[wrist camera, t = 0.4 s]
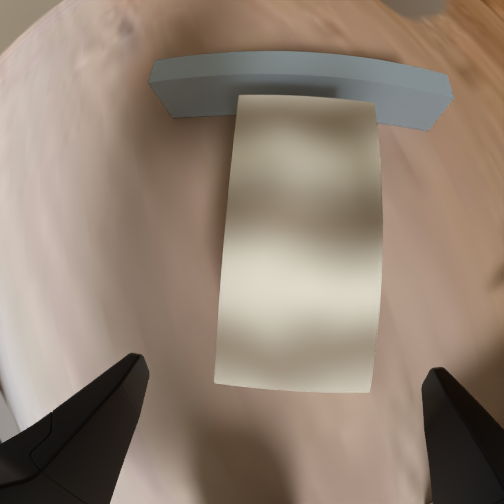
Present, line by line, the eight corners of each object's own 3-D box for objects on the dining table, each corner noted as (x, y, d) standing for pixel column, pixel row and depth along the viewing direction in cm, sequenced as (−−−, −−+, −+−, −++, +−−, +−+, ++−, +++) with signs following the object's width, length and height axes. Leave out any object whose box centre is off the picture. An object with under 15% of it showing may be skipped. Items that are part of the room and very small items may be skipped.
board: (427, 131, 24) (453, 98, 18) (172, 118, 27) (148, 82, 21) (423, 109, 24) (446, 74, 18) (176, 97, 27) (155, 60, 21)
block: (341, 356, 23) (369, 392, 14) (240, 350, 24) (214, 383, 15) (349, 160, 24) (374, 102, 16) (254, 155, 25) (238, 94, 17)
